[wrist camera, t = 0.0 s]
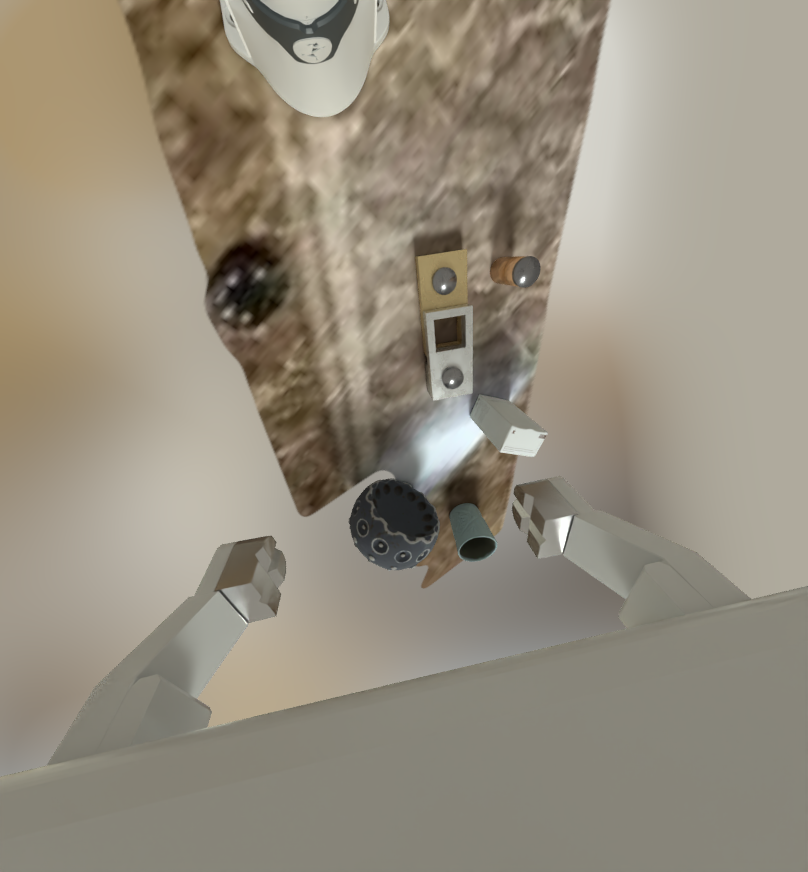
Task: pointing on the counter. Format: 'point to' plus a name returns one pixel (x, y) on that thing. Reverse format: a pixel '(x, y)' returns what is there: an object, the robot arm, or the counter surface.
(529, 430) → the skincare box
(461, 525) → the teal plant pot
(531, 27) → the counter surface
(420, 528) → the scalloped baking dish
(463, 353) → the chain joint
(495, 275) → the pin
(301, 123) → the counter surface
